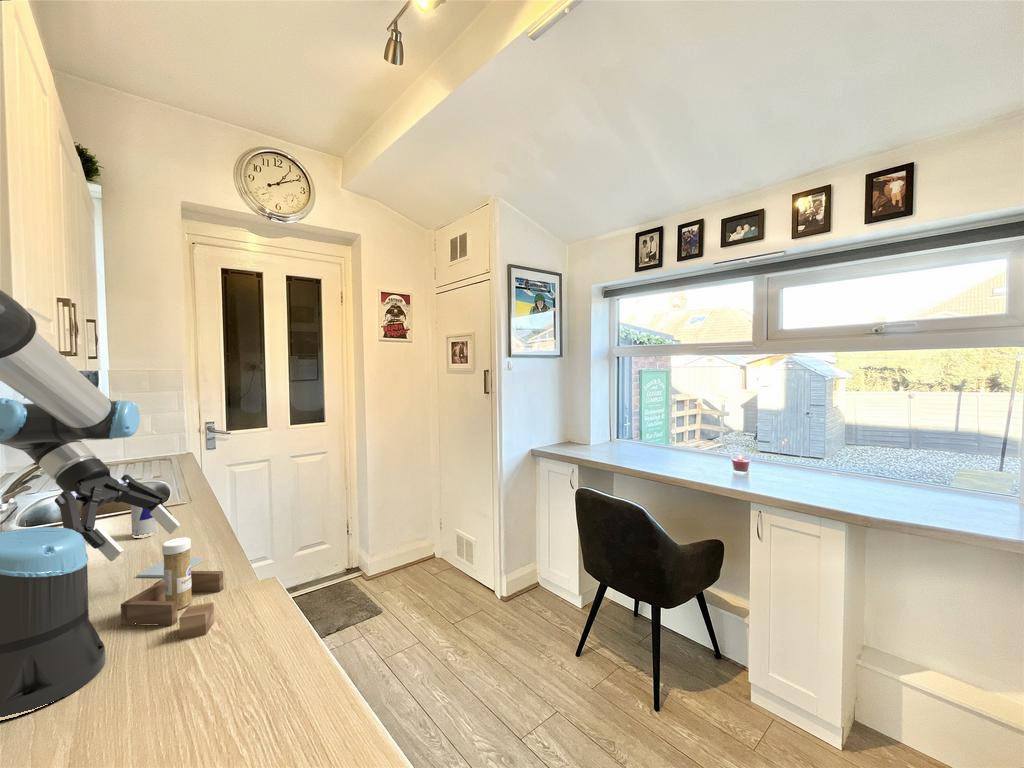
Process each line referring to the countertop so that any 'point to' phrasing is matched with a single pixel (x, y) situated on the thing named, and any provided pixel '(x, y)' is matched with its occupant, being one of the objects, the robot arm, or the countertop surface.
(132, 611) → the cubby
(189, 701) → the countertop surface
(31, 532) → the robot arm
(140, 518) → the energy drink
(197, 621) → the walnut cube
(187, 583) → the spice jar
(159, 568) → the coaster
